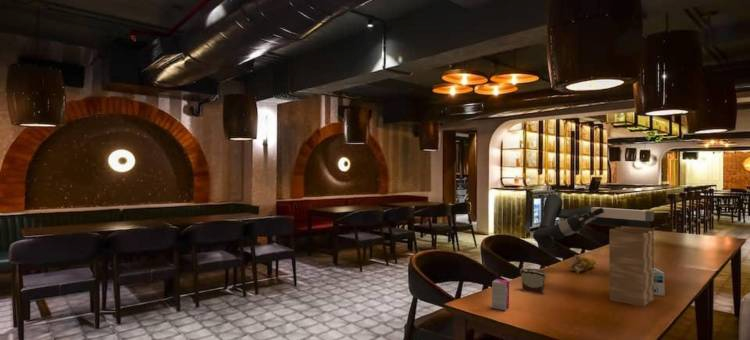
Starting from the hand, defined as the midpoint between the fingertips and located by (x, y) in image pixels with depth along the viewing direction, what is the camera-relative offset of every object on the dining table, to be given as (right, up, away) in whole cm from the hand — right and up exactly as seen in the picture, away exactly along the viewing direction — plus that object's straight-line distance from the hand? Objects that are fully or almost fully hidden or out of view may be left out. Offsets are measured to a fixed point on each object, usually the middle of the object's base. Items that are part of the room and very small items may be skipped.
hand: (604, 209), depth 196 cm
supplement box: (-52, -40, -17) cm, 68 cm away
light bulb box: (+25, -39, +6) cm, 47 cm away
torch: (+16, -40, +51) cm, 67 cm away
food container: (-28, -40, +8) cm, 49 cm away
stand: (+9, -39, -5) cm, 41 cm away
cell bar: (+5, -3, -5) cm, 8 cm away
